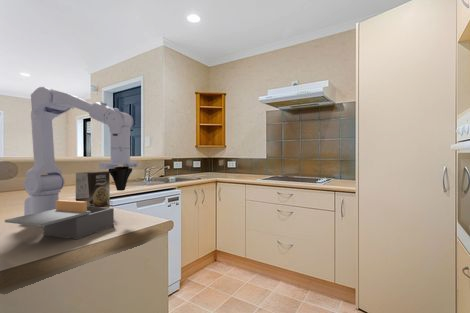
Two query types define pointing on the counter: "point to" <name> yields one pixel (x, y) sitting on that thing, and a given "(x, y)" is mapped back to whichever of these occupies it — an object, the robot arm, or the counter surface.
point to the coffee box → (93, 188)
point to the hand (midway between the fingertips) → (120, 190)
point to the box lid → (53, 214)
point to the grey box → (82, 224)
